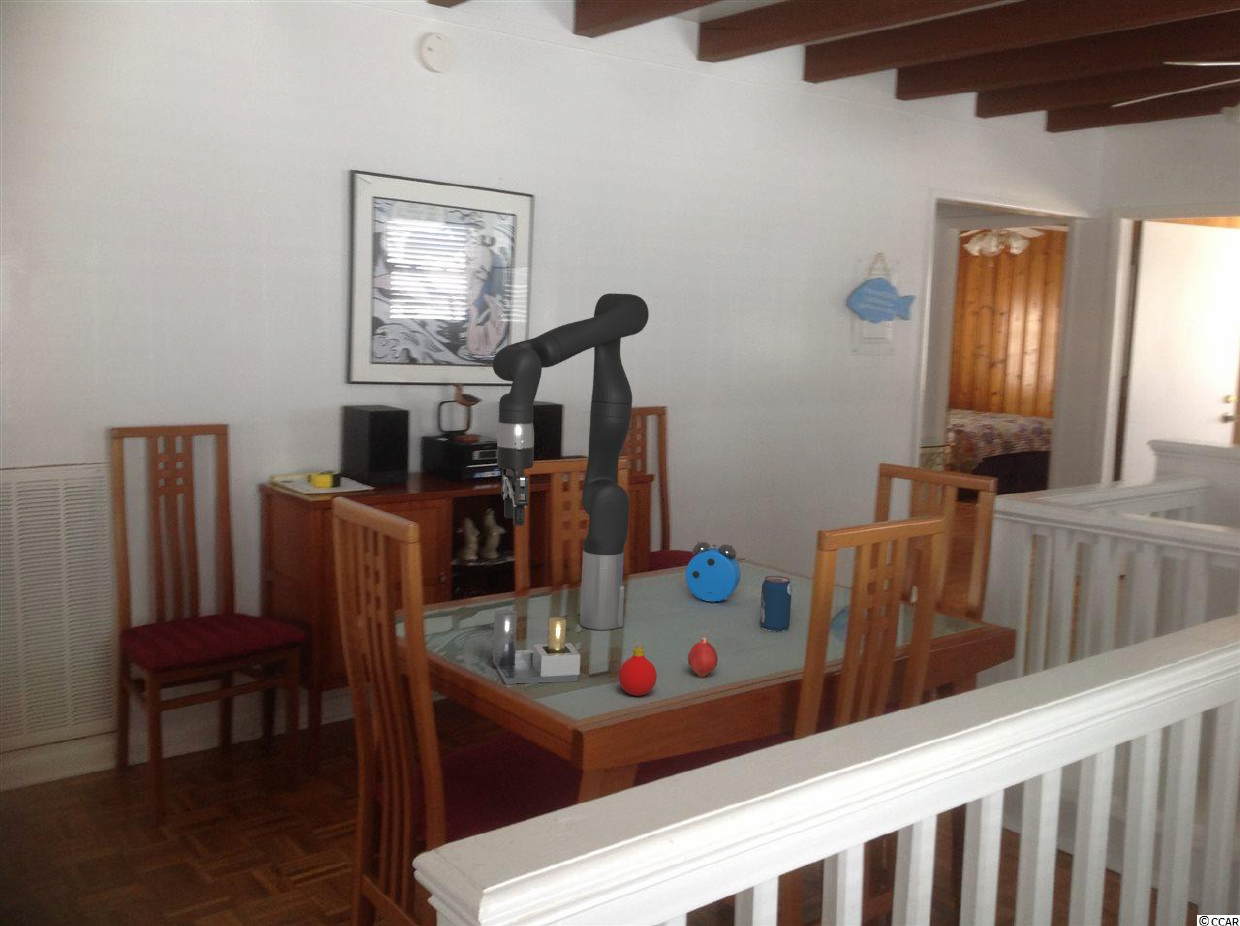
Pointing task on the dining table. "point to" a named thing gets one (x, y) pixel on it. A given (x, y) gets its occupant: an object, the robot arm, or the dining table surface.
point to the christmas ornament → (637, 674)
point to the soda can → (775, 603)
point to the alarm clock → (713, 572)
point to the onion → (702, 658)
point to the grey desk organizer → (530, 656)
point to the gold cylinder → (556, 635)
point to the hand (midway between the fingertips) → (514, 521)
